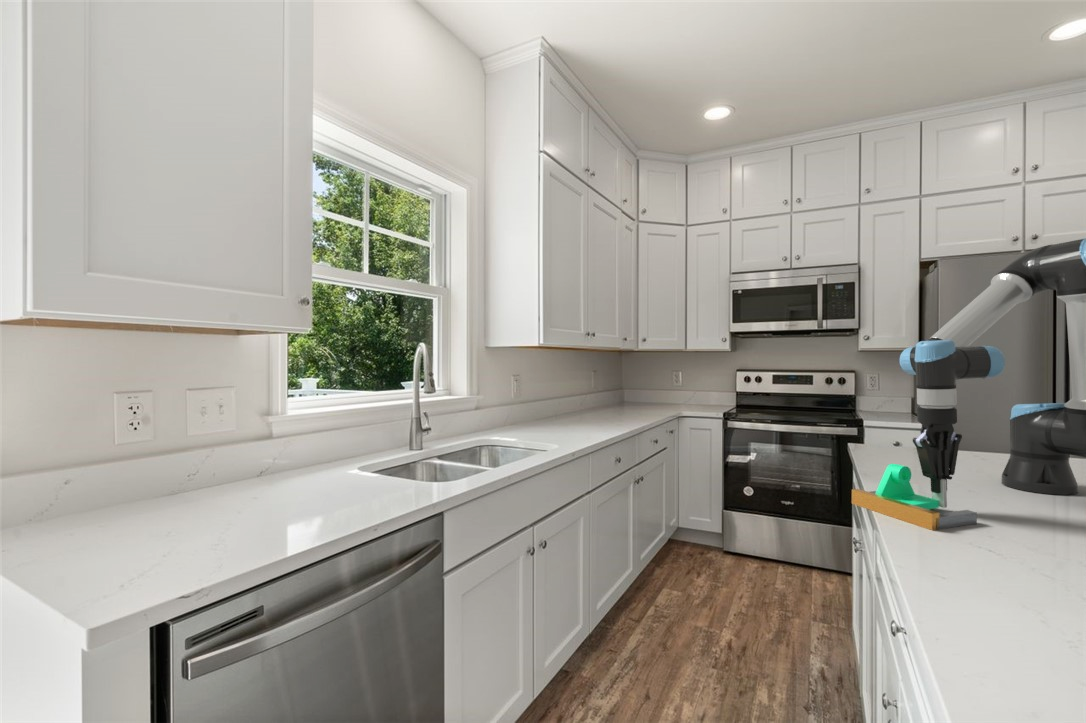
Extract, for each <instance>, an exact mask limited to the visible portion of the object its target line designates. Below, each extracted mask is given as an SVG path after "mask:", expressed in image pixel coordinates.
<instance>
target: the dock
mask: <svg viewBox="0 0 1086 723" xmlns="http://www.w3.org/2000/svg"><path fill="white" fill-rule="evenodd" d="M876 491H877V490H873V491H872V490H871V491H866V490H864V489H859V488H853V489H851V504H852V505H855V506H858V507H860V508H862V509H863V508H864V509H867V510H870V511H871V512H872V511H873V512H875V513H879V514H882V515H885V516H888V517H890V518H895V519H897V520H900V521H903V522H906V523H909V524H912V525H914V526H915V525H916V526H918V527H921V528H925V529H927V530H931V531H936V530H943V529H951V528H958V527H965V526H971V525H972V526H973V525H977V520H978V514H977V513H978V512H976V511H972V510H969V509H964V510H963V509H962V510H955V511H947V512H941V513H940V512H938V511H934V510H932V509H930V510H928V509H925V508H921V507H918V506H914V505H911V504H908V503H904V502H901V501H898V500H894V499H891V498H887V497H884V496H881V495H877V494H875V493H876Z"/></svg>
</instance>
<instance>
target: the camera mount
mask: <svg viewBox="0 0 1086 723" xmlns="http://www.w3.org/2000/svg"><path fill="white" fill-rule="evenodd" d="M911 479H912V470H911V469H910V467H909V466H907V465H902V464H897V463H890V464H888V465H887V466H886V468H885V471H884V473H883V475H882V477H881V479H880V482H879V484H878V487H877V489H876V490H875V491H876V493H875V494H877V495H881V496H884V497H887V498H891V499H894V500H898V501H901V502H904V503H908V504H911V505H914V506H918V507H921V508H925V509H928V510H932V509H938V508H940V507H939V500H936V499H932V497H929V496H925V495H920V494H916V493H915V492H914V489H913V486H912V485H911V482H910V481H911Z"/></svg>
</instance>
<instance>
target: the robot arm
mask: <svg viewBox="0 0 1086 723" xmlns="http://www.w3.org/2000/svg"><path fill="white" fill-rule="evenodd" d="M1047 291H1048V292H1049V291H1056V298H1057V299H1060V300H1061V301H1062V302H1064V303H1065V309H1066V326H1067V340H1068V341H1067V343H1068V355H1069V356H1068V357H1069V359H1068V360H1069V372H1070V375H1069V376H1070V386H1071V399H1069V400H1068V401H1067V402H1056V403H1054V402H1051V403H1050V402H1049V403H1047V402H1046V403H1017V404H1015V405H1013V406H1012V408H1011V411H1010V412H1011V413H1010V418H1009V422H1010V424H1009V426H1010V427H1009V431H1010V432H1009V434H1010V435H1009V437H1010V438H1009V439H1010V440H1009V441H1010V446H1009V448H1010V452H1009V458H1008V460H1007V462H1006V464H1005V467H1004V470H1003V471H1002V474H1001V484H1002V485H1003V486H1005V487H1009V488H1013V489H1016V490H1020V491H1025V492H1026V491H1027V492H1031V493H1039V494H1046V495H1047V494H1048V495H1049V494H1050V495H1061V496H1062V495H1065V496H1066V495H1067V496H1068V495H1076V494H1078V490H1079V488H1078V482H1077V480H1076V478H1075V474H1074V472H1073V470H1072V467H1071V464H1070V463H1069V462H1070V461H1069V460H1070V456H1075V457H1080V458H1086V237H1085V238H1081V239H1076V240H1071V241H1070V240H1069V241H1065V242H1060V243H1055V244H1047V245H1043V246H1040V247H1036V248H1035V249H1032V250H1030V251H1028V252H1027V253H1025V254H1022V255H1020V257H1018V258H1016V259H1015V260H1013V261H1011V263H1009V264H1007V265H1006V266H1005V267H1004V268H1002V269H1001V270H1000V271H998V273H996V274H995V275H994V276H993V277H992V279H990V285H988V286H987V287H986V288H985V289H984V290H983V291H982V292H980V294H979V295H978V296H976V297H975V298H974V299H973V300H972V301H970V302H969V303H968V304H967V305H966V306H965V307H964V308H962V309H961V310H960V311H959V312H958V313H957V314H955V315H954V317H952V318H951V319H950V320H948V322H946V323H945V324H944V325H943V326H942V327H941V328H939V329H938V331H936V332H935V333H933V335H931V336H930V337H929V338H928V339H927V340H921V341H918V342H917V343H916V344H915V345H914V346H911V347H910V346H909V347H907V348H905V349H904V350H903V351H901V353H900V355H899V365H900V367H901V369H902V370H903V372H905V373H906V374H908V375H914V376H915V383H916V384H915V385H916V404H917V405H918V407H916V420H917V422H918V423H920V425H921V428H920V435H919V436H918V437H913V438H912V443H913V444H914V446H915V447H916V448H915V449H916V452H917V456H918V460H919V465H920V470H921V473H922V476H924V477H926V478H929V479H930V491H931V498H932V499H936V500H939V507H938V508H943V509H946V508H948V501H947V500H948V498H947V497H948V494H947V493H948V480H952V479H953V476H954V475H955V472H956V466H957V458H958V454H959V453H958V452H959V446H960V443H961V441H962V439H963V435H962V433H957V432H955V429H954V426H953V425H955V424H957V422H958V410H957V408H956V407H955V406H957V405H958V401H957V400H958V397H957V380H968V379H969V380H970V379H972V380H973V379H984V380H985V379H986V378H992V377H996V376H999V375H1000V374H1001V373H1002V372H1003V371H1004V369H1005V366H1006V364H1005V363H1006V362H1005V361H1006V359H1005V356H1004V354H1003V352H1002V351H1001V350H1000V349H999V348H997V347H995V346H988V345H978V346H971V344H973V343H974V342H975V341H976V340H977V339H979V338H980V337H981V336H982V335H983V334H984V333H985V332H986V331H988V330H989V329H990V328H991V327H993V325H995V324H996V323H997V322H998V321H999V320H1000V319H1001V318H1002V317H1004V316H1005V315H1006V314H1007V313H1008V312H1010V311H1011V310H1012V309H1013V308H1014V307H1015V306H1017V304H1020V303H1024V302H1025V303H1026V302H1027V301H1028V300H1030V299H1031V298H1032V297H1033V296H1035V295H1038V294H1040V293H1044V292H1047Z"/></svg>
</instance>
